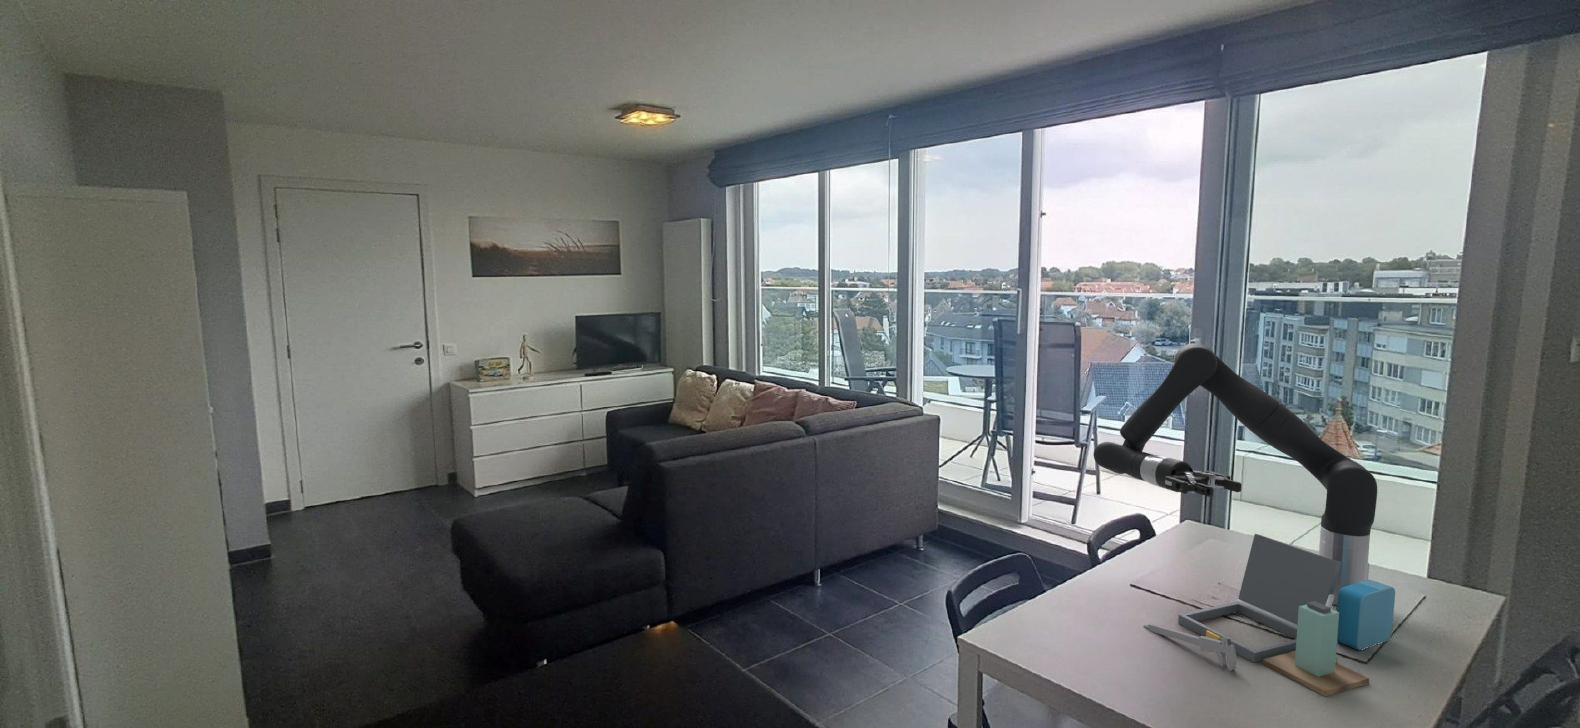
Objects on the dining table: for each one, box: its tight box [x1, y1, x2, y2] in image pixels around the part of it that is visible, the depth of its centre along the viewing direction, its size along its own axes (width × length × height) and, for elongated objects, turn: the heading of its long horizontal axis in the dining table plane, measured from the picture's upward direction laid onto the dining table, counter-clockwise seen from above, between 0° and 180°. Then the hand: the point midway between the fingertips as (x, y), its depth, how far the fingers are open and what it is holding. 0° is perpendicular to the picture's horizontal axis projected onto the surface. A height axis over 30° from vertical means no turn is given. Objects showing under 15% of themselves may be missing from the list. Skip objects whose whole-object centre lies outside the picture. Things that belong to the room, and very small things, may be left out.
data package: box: [1336, 579, 1396, 651], centre depth 150 cm, size 12×4×12 cm, turn 114°
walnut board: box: [1262, 651, 1370, 697], centre depth 139 cm, size 12×12×1 cm
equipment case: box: [1177, 533, 1341, 663], centre depth 154 cm, size 24×19×18 cm
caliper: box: [1142, 622, 1237, 672], centre depth 149 cm, size 20×1×6 cm, turn 24°
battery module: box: [1295, 601, 1339, 677], centre depth 138 cm, size 4×4×13 cm
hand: (1226, 490), depth 159 cm, fingers open, 8 cm apart
